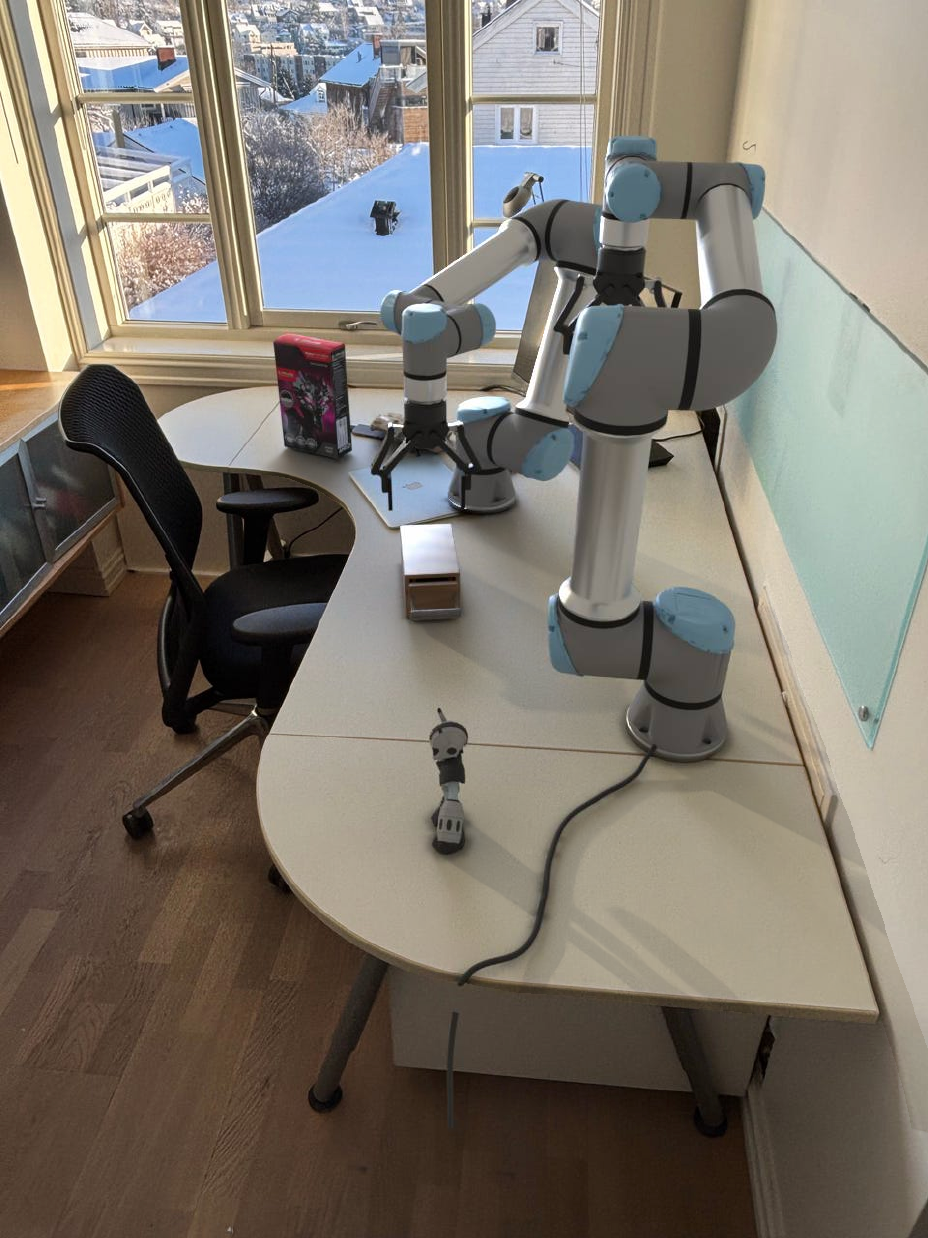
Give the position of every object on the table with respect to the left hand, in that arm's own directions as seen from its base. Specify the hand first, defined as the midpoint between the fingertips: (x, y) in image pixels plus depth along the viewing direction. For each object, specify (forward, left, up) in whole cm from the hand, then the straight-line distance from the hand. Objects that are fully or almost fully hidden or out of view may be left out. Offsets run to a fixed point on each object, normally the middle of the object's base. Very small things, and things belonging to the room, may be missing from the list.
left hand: (426, 506), depth 174 cm
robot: (+64, +23, -15) cm, 70 cm away
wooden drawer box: (+6, +2, -15) cm, 16 cm away
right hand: (-7, +31, +26) cm, 41 cm away
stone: (-61, -24, -15) cm, 67 cm away
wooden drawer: (+11, +4, -14) cm, 18 cm away
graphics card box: (-50, -44, -15) cm, 68 cm away
